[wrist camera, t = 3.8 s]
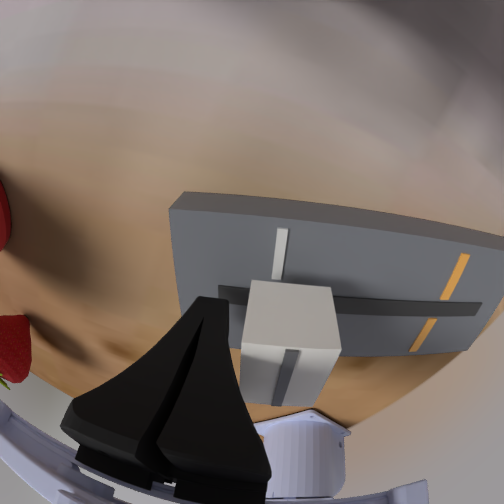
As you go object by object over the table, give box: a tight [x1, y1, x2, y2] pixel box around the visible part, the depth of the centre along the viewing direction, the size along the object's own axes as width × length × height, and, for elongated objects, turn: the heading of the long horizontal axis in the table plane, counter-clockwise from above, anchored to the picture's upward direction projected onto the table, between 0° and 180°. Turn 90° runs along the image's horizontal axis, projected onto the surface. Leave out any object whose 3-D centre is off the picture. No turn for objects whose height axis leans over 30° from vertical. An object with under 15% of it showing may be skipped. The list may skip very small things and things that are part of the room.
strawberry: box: [0, 315, 32, 390], centre depth 16 cm, size 6×8×10 cm
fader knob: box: [239, 280, 342, 407], centre depth 10 cm, size 3×4×4 cm
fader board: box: [169, 192, 504, 357], centre depth 13 cm, size 19×8×2 cm, turn 87°
